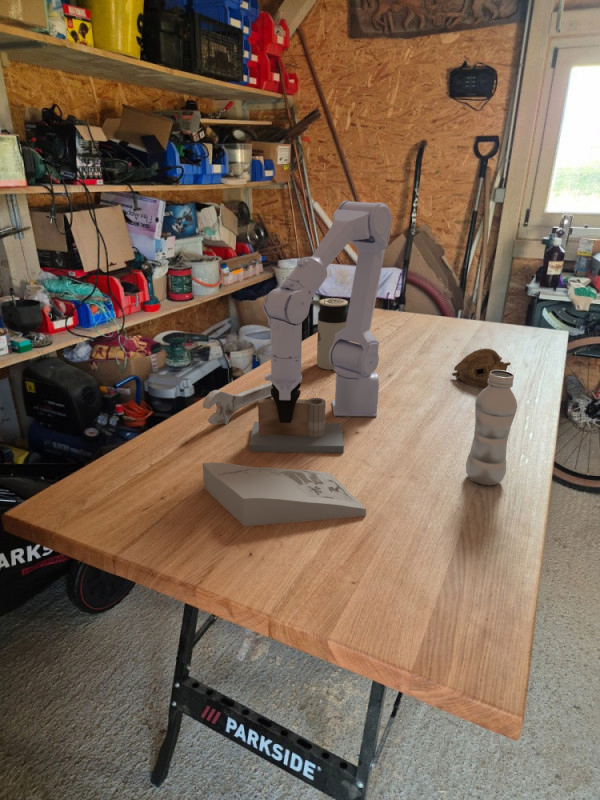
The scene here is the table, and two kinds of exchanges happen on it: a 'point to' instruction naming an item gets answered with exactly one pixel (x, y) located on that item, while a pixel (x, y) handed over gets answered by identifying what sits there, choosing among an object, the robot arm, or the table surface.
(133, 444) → the table surface
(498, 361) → the lumpy brown dome
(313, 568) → the table surface
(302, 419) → the door
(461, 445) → the table surface
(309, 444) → the hinge board
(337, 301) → the travel mug
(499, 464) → the plastic bottle
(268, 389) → the wrench
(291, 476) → the ramp
